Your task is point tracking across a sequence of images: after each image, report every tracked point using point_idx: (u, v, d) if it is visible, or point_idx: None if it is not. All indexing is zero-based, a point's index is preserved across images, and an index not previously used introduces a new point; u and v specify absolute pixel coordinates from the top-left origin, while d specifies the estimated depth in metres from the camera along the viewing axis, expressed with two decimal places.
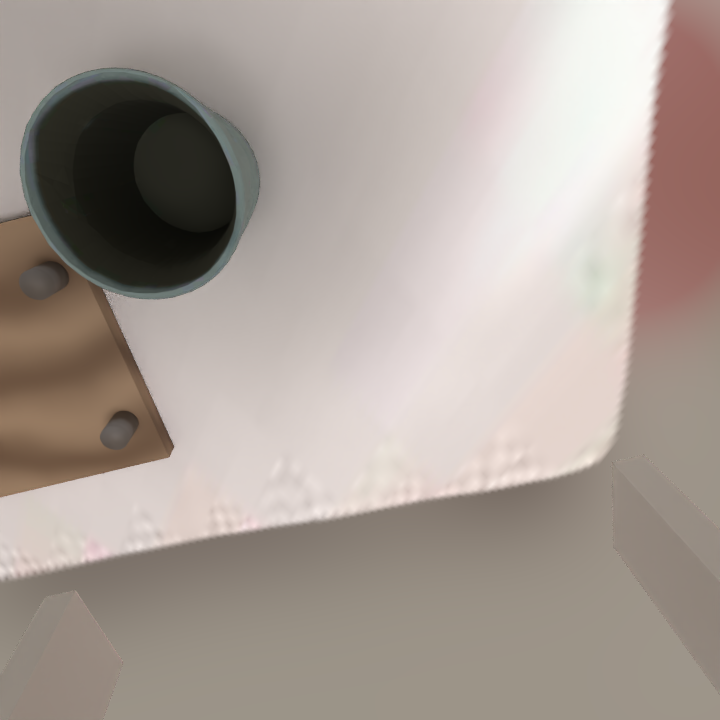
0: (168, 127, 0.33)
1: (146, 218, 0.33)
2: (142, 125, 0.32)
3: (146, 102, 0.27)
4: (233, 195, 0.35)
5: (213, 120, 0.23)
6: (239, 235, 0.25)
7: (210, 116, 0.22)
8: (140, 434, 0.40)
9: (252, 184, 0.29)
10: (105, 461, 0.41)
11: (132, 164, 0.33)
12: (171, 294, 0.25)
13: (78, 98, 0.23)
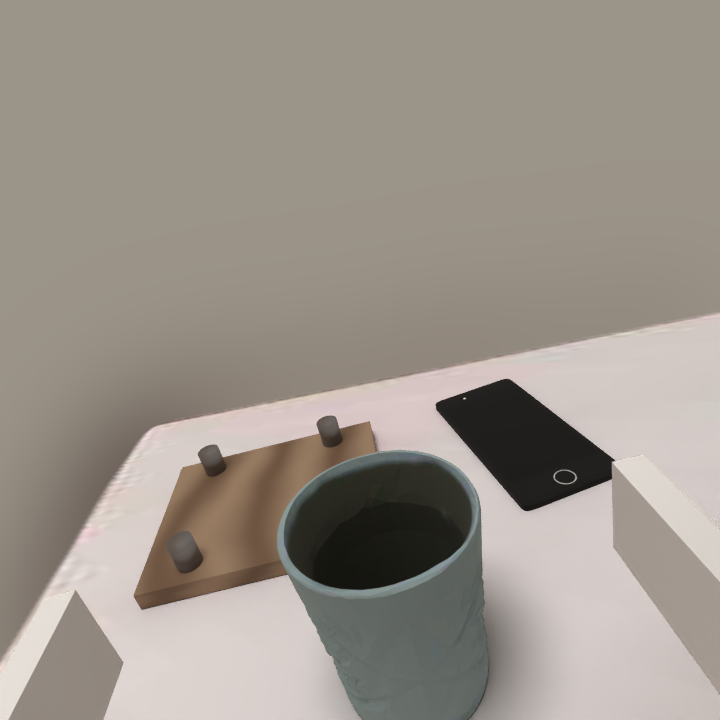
0: None
1: None
2: None
3: None
4: None
5: (437, 572, 0.21)
6: (319, 590, 0.22)
7: (441, 569, 0.21)
8: (170, 573, 0.39)
9: (390, 680, 0.24)
10: (163, 543, 0.43)
11: None
12: (279, 531, 0.26)
13: (457, 492, 0.27)
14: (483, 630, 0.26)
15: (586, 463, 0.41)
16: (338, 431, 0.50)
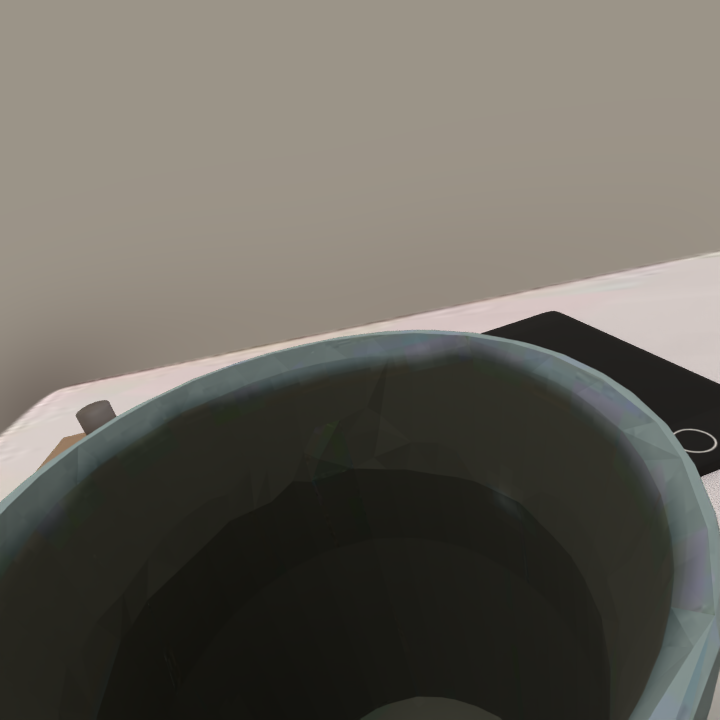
0: None
1: (328, 690, 0.14)
2: None
3: (595, 680, 0.09)
4: None
5: None
6: None
7: None
8: None
9: None
10: None
11: (450, 691, 0.15)
12: None
13: (555, 428, 0.09)
14: None
15: None
16: None
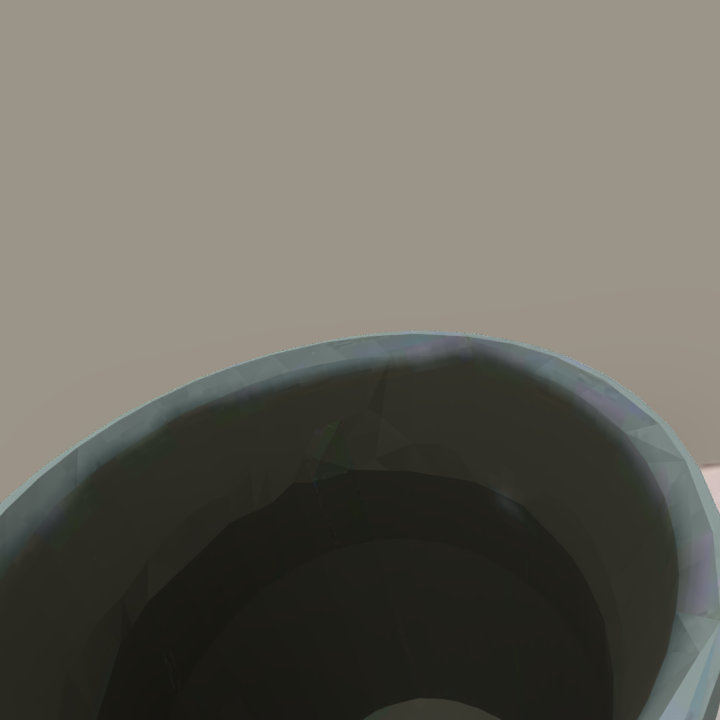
0: None
1: (328, 693, 0.14)
2: None
3: (598, 683, 0.09)
4: None
5: None
6: None
7: None
8: None
9: None
10: None
11: (451, 693, 0.15)
12: None
13: (558, 429, 0.09)
14: None
15: None
16: None
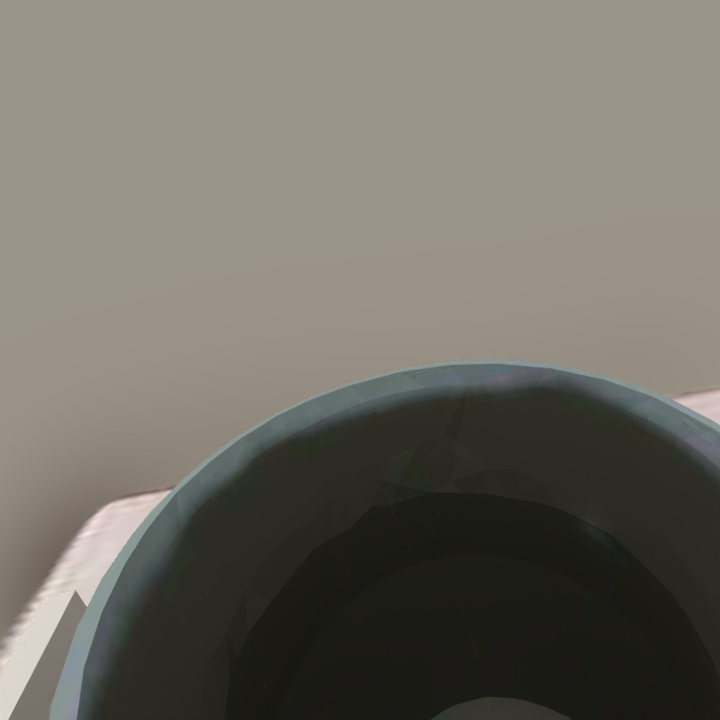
0: None
1: (402, 696, 0.15)
2: None
3: (694, 709, 0.09)
4: None
5: None
6: None
7: None
8: None
9: None
10: None
11: (519, 693, 0.15)
12: (90, 607, 0.08)
13: (656, 469, 0.09)
14: None
15: None
16: None
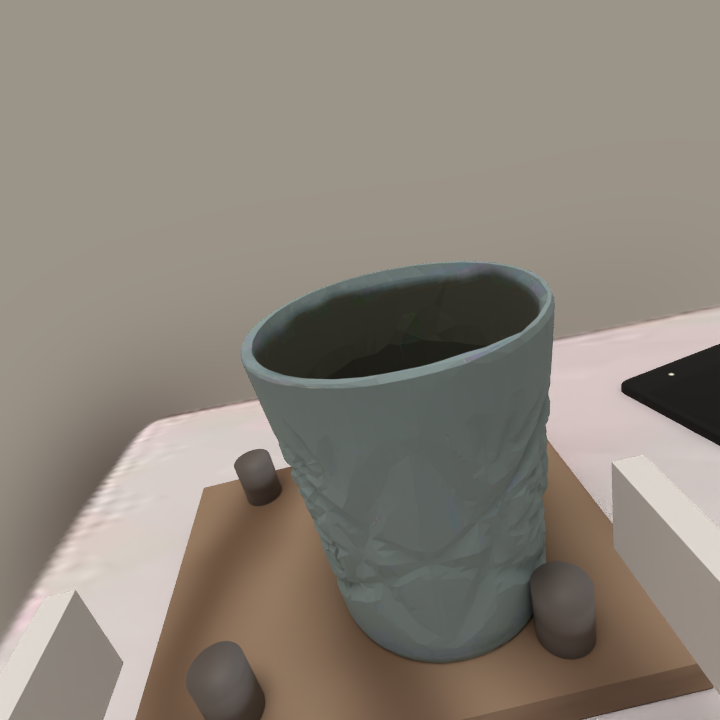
0: None
1: None
2: None
3: None
4: None
5: (459, 361, 0.12)
6: (272, 378, 0.14)
7: (466, 359, 0.12)
8: None
9: (380, 551, 0.16)
10: (176, 652, 0.21)
11: None
12: (253, 329, 0.18)
13: (522, 308, 0.18)
14: (540, 518, 0.17)
15: None
16: None
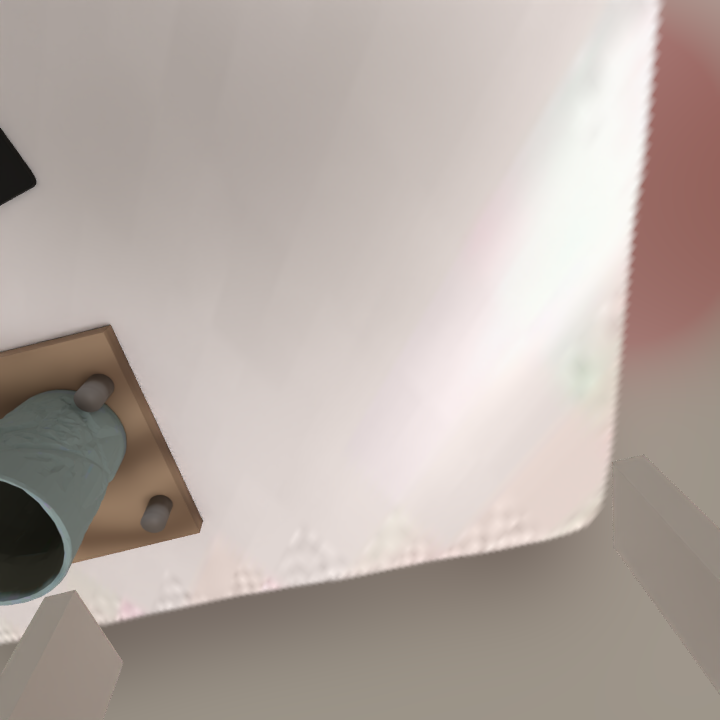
0: None
1: None
2: None
3: None
4: None
5: (51, 510, 0.29)
6: (63, 576, 0.31)
7: (49, 508, 0.29)
8: (174, 514, 0.45)
9: (103, 488, 0.36)
10: (141, 537, 0.45)
11: None
12: (1, 604, 0.32)
13: None
14: (61, 418, 0.35)
15: None
16: None
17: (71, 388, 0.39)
